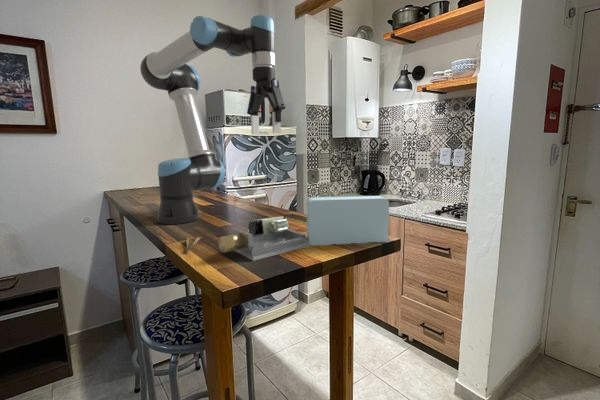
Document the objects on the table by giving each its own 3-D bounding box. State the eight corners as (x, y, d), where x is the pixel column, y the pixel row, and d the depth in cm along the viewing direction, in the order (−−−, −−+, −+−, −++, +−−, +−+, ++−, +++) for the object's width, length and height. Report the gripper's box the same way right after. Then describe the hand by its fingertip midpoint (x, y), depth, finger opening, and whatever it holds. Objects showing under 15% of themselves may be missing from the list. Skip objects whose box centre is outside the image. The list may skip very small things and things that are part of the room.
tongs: (181, 255, 85) (181, 248, 85) (187, 242, 98) (186, 235, 97) (198, 254, 86) (197, 247, 86) (201, 241, 99) (201, 234, 98)
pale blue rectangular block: (381, 237, 98) (382, 195, 96) (387, 243, 93) (389, 198, 91) (306, 240, 96) (306, 197, 94) (308, 246, 91) (308, 200, 89)
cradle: (234, 265, 76) (233, 240, 75) (212, 251, 87) (210, 229, 86) (310, 246, 90) (310, 225, 89) (283, 236, 100) (282, 217, 100)
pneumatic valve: (297, 214, 98) (276, 216, 107) (264, 220, 91) (244, 221, 100) (300, 233, 98) (278, 233, 107) (266, 240, 91) (246, 239, 100)
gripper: (236, 73, 115) (238, 134, 119) (275, 58, 96) (276, 131, 99) (254, 76, 120) (256, 135, 123) (295, 61, 100) (296, 132, 104)
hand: (265, 133), depth 111 cm, fingers open, 13 cm apart
